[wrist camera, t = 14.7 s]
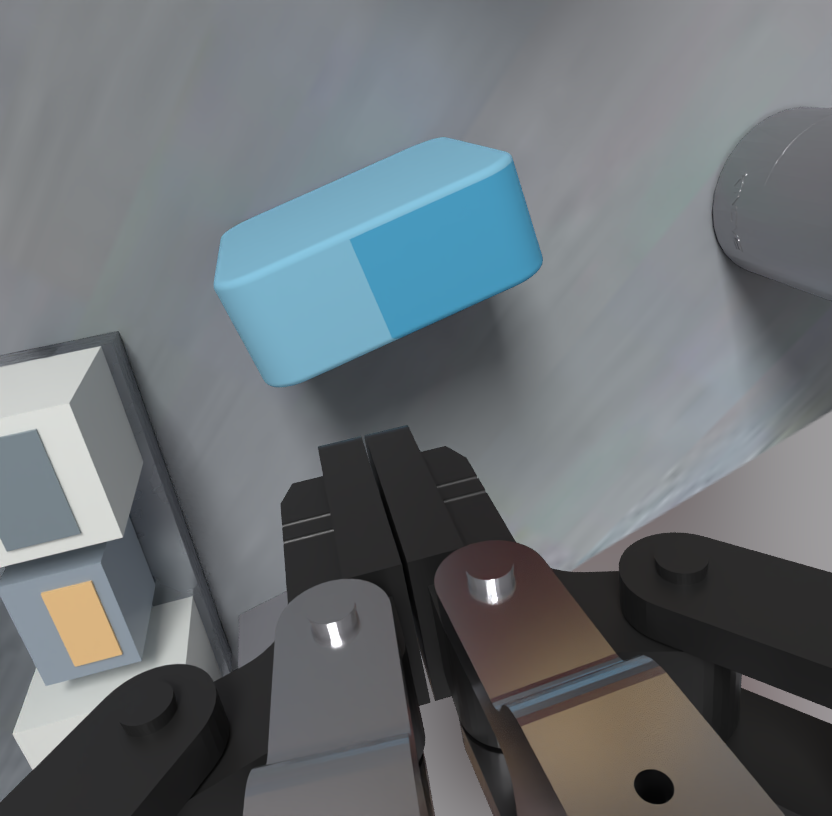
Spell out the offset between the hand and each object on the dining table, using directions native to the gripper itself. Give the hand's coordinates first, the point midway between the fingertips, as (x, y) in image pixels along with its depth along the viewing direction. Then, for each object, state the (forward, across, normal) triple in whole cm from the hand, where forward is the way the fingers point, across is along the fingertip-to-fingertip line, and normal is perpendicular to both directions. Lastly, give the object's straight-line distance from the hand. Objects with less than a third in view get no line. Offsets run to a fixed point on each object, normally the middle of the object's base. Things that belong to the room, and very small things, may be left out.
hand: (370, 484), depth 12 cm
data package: (+27, -3, +1) cm, 27 cm away
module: (+25, +14, +15) cm, 32 cm away
